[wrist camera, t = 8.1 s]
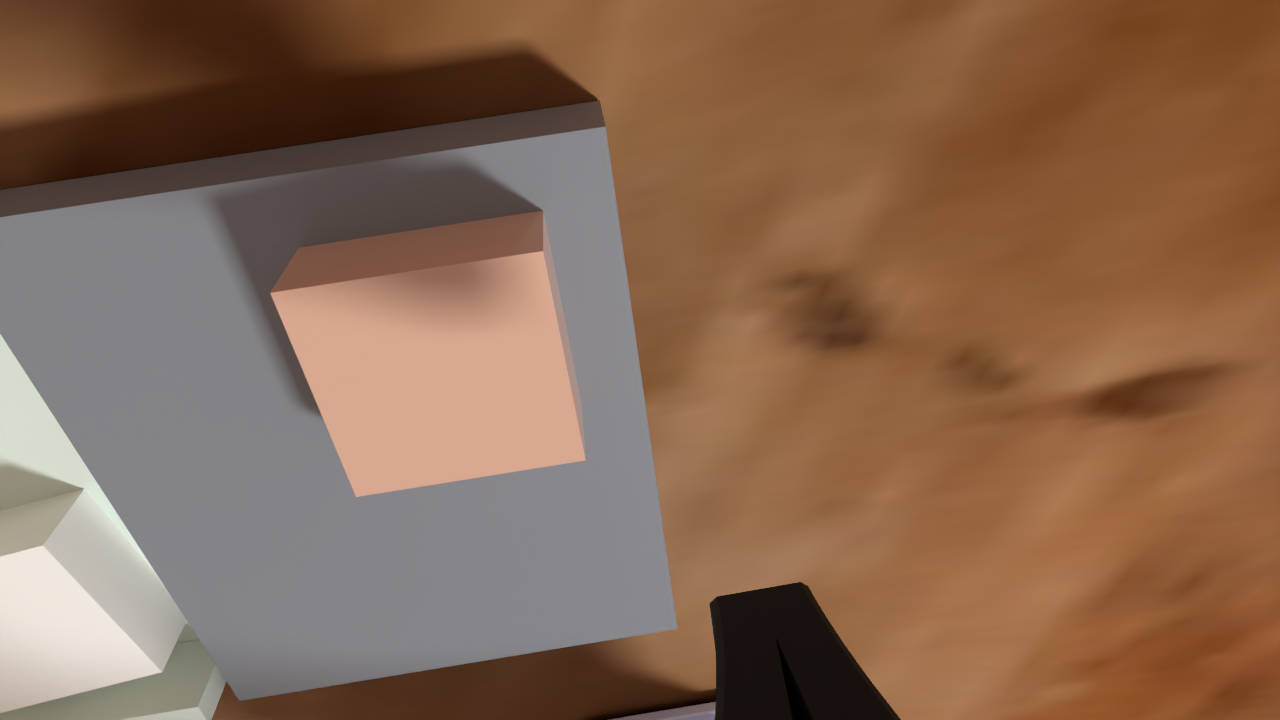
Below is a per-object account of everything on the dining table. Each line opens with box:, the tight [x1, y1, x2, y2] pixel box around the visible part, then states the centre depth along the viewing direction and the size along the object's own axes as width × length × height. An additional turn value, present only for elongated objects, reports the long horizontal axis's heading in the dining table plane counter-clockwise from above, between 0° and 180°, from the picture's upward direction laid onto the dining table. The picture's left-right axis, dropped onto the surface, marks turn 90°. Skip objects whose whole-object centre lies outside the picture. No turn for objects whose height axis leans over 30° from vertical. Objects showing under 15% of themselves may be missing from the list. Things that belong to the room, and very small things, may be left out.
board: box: [0, 101, 677, 701], centre depth 20 cm, size 15×13×2 cm
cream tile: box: [0, 489, 187, 713], centre depth 21 cm, size 5×5×2 cm
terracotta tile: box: [270, 211, 586, 497], centre depth 17 cm, size 5×5×2 cm
